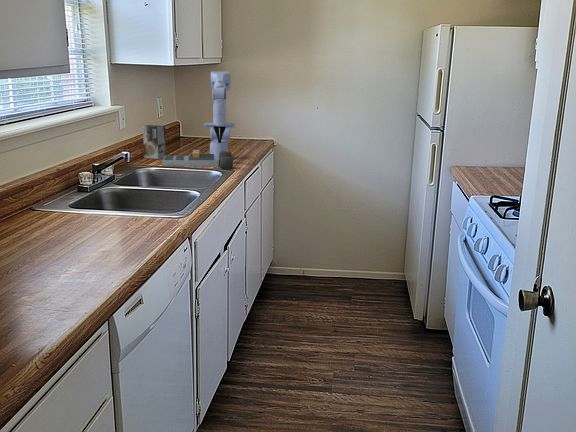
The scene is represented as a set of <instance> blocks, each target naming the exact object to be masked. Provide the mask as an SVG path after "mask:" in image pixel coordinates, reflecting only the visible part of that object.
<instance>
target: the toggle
mask: <svg viewBox="0 0 576 432" xmlns="http://www.w3.org/2000/svg"><path fill="white" fill-rule="evenodd" d="M192 154H193V158H199V154H200V151H199V152H193V151H192Z"/></svg>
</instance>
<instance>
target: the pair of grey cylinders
mask: <svg viewBox="0 0 576 432" xmlns="http://www.w3.org/2000/svg"><path fill="white" fill-rule="evenodd" d="M232 153H233V152H232V151H228V152H219V169H220V170H233V169H234V157H233V154H232Z"/></svg>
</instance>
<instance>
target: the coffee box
mask: <svg viewBox="0 0 576 432" xmlns="http://www.w3.org/2000/svg"><path fill="white" fill-rule="evenodd" d="M165 128H166V126H165V125H160V124H159V125H158V124H146V125H143V126H142V137H143V139H142V140H143V157H144V159H153V160H160V159H161V160H162V159H163V157H164V156H167V154H166V132H165V131H166V129H165Z"/></svg>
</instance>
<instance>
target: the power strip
mask: <svg viewBox="0 0 576 432" xmlns="http://www.w3.org/2000/svg"><path fill="white" fill-rule="evenodd" d="M193 152H199V158H193ZM161 166H169V167H171V166H187V168H189V167H190V168H191V167H194V168H195V167H197V168H198V167H199V168H200V167H205V168H206V167H207V168H208V167H213V168H214V167H215V168H217V167H219V168H220V163H219V159H218V156H214V154H210V153H200V149H193V150H192V153H188V155H166V156H164V157H163V158H162V159H161Z"/></svg>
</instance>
